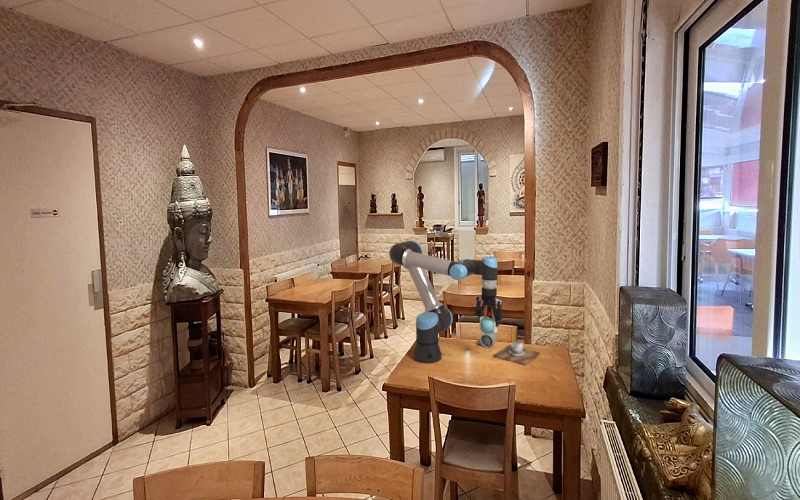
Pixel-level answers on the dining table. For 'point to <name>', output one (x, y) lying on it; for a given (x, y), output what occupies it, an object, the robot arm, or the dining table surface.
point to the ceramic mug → (487, 340)
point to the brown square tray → (516, 354)
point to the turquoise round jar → (487, 325)
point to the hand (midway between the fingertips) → (488, 330)
